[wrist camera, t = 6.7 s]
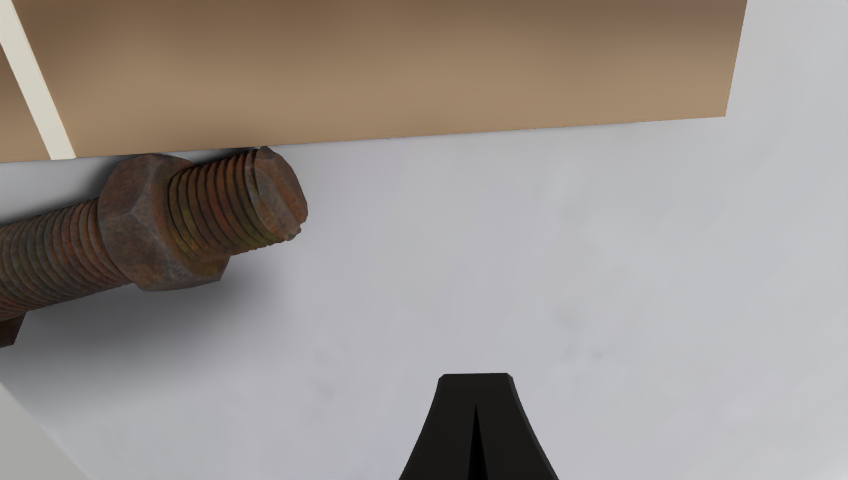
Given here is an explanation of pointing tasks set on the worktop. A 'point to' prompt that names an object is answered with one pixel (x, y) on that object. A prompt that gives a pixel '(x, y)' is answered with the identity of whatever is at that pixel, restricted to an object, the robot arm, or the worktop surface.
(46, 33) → the walnut board
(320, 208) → the worktop surface
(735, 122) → the worktop surface
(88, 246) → the bolt
